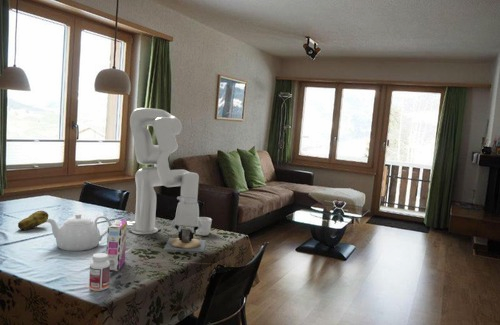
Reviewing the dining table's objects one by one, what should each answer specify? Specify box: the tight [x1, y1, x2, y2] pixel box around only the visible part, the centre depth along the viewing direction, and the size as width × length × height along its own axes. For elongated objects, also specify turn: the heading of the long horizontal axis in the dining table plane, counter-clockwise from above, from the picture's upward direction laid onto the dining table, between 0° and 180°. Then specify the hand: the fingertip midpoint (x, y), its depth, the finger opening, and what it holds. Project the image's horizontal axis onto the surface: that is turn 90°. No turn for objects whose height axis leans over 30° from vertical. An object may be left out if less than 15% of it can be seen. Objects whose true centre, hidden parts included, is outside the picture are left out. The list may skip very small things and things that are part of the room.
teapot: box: [45, 213, 112, 252], centre depth 176 cm, size 19×18×14 cm
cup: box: [195, 216, 213, 236], centre depth 205 cm, size 11×8×8 cm
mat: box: [163, 237, 207, 253], centre depth 188 cm, size 17×17×1 cm
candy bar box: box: [106, 219, 128, 272], centre depth 156 cm, size 11×5×16 cm, turn 5°
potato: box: [17, 210, 49, 230], centre depth 194 cm, size 8×13×8 cm, turn 124°
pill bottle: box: [88, 252, 111, 292], centre depth 136 cm, size 6×6×11 cm
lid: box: [171, 227, 200, 249], centre depth 187 cm, size 13×13×7 cm
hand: (185, 239), depth 188 cm, fingers closed on lid, 4 cm apart
